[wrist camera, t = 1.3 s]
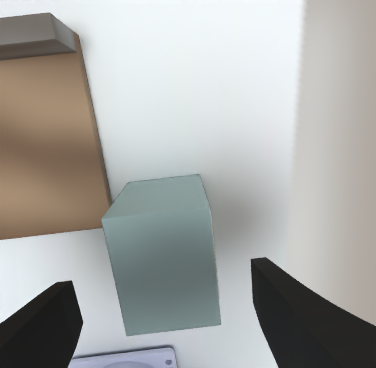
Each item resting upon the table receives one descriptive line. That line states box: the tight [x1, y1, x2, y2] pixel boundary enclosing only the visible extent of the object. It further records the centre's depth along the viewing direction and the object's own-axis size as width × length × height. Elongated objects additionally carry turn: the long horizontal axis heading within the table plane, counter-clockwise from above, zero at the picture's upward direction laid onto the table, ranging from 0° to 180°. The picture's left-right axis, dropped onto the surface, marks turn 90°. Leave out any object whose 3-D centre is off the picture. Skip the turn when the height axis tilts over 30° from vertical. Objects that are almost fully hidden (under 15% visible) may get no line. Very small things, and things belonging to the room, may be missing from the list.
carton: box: [101, 174, 221, 336], centre depth 14 cm, size 5×6×6 cm
